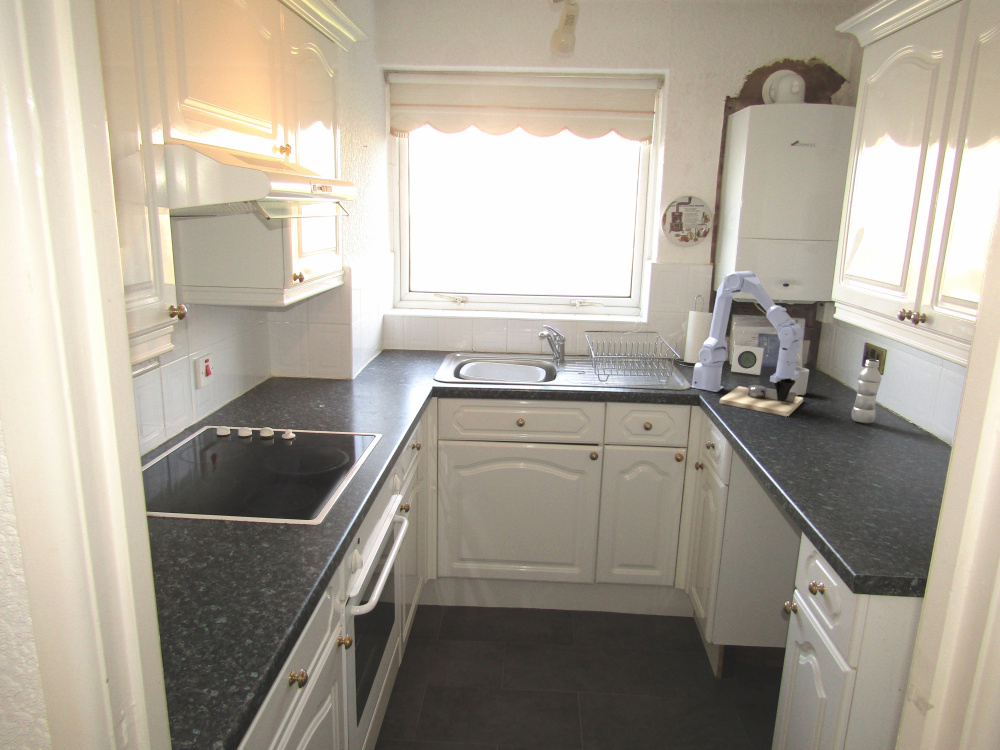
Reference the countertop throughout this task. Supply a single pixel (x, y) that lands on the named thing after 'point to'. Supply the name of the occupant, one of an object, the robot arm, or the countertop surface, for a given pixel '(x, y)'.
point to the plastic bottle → (867, 392)
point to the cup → (800, 381)
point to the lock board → (759, 402)
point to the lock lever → (768, 393)
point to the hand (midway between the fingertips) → (781, 400)
